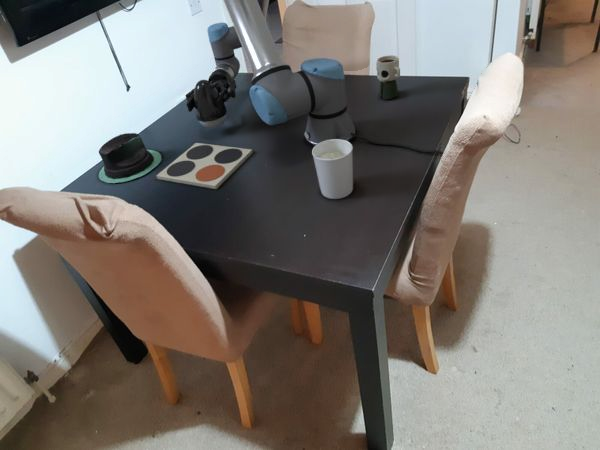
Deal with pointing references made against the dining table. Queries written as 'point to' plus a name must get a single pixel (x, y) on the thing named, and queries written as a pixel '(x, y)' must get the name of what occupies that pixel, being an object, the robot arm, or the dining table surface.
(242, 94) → the dining table surface
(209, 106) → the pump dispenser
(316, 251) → the dining table surface
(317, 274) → the dining table surface
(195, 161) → the hob plate
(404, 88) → the dining table surface
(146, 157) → the black green hat
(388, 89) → the character mug
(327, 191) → the candle holder
